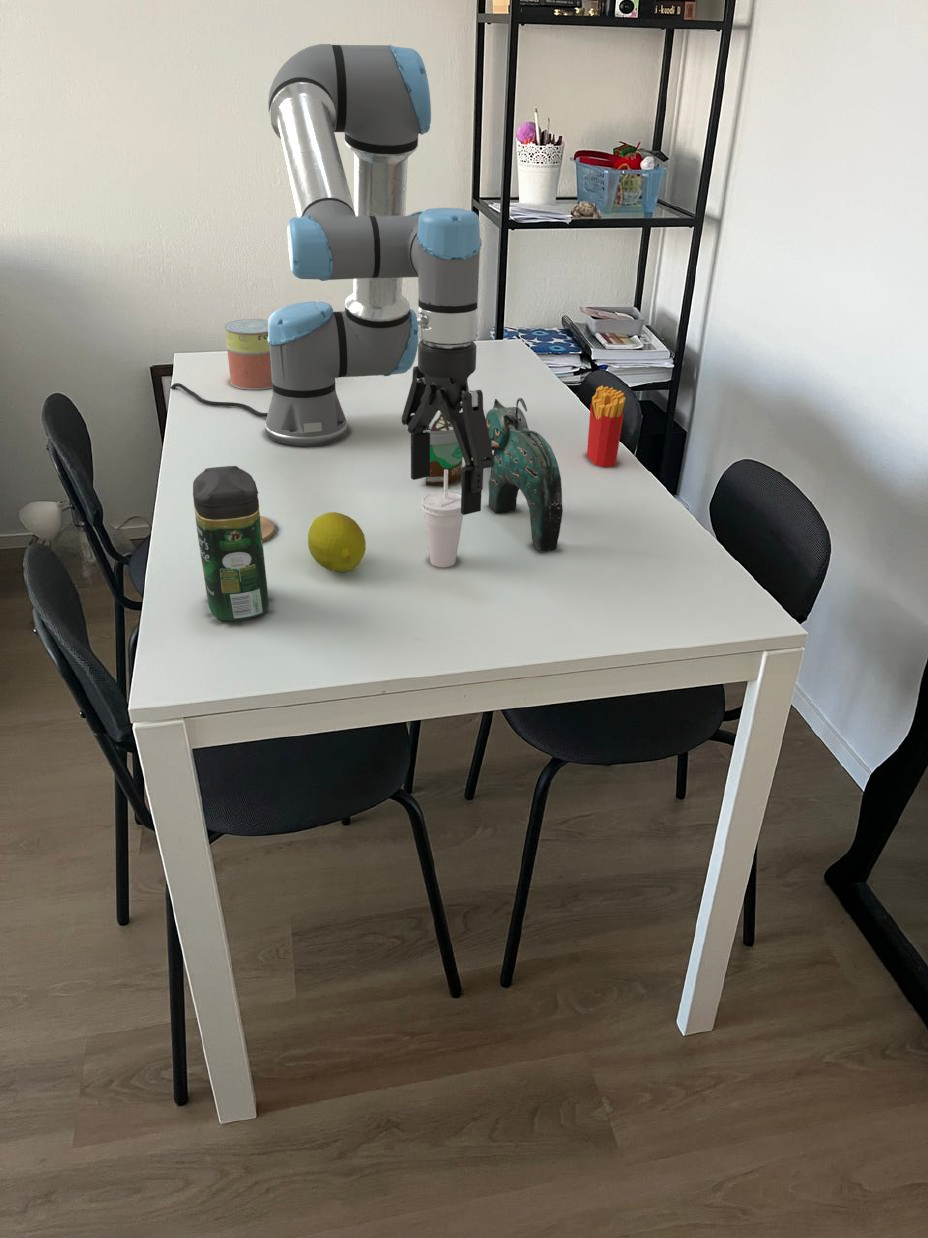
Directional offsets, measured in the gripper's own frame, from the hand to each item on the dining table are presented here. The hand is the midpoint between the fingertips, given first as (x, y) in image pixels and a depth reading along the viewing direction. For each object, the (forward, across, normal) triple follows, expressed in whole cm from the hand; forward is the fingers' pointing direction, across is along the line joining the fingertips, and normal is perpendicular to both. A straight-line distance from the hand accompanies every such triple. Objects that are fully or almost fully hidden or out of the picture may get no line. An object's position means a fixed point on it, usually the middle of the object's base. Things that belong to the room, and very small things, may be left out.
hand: (444, 494), depth 132 cm
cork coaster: (+11, -23, -22) cm, 34 cm away
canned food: (+10, -90, +7) cm, 91 cm away
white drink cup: (+11, 0, 0) cm, 11 cm away
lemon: (+11, -6, -14) cm, 19 cm away
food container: (+11, -26, +17) cm, 33 cm away
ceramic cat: (+11, -4, +17) cm, 21 cm away
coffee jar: (+11, -3, -30) cm, 32 cm away
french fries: (+11, -20, +46) cm, 51 cm away
